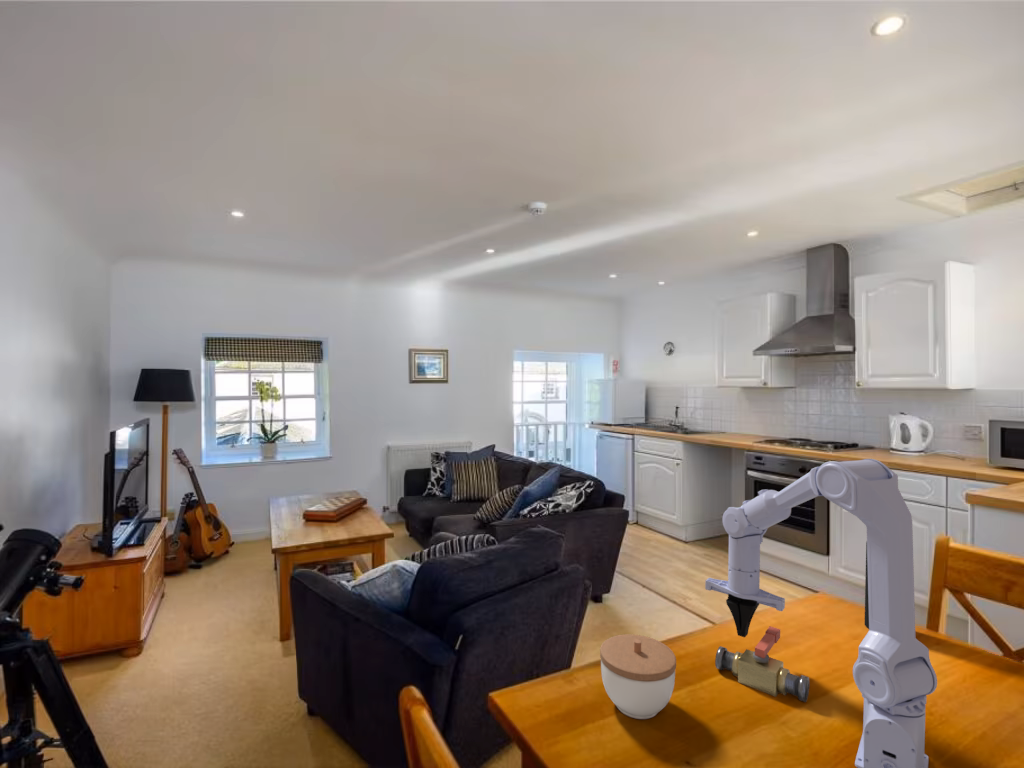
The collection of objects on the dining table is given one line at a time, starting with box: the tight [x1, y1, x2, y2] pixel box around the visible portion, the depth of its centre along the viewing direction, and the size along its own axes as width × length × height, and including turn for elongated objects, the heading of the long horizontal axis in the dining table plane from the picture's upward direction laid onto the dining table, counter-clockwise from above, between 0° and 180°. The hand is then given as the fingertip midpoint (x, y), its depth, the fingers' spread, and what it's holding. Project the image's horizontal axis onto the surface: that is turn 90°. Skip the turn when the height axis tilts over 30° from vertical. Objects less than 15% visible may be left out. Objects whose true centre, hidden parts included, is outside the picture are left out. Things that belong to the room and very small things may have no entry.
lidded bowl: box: [599, 633, 677, 720], centre depth 86 cm, size 13×13×11 cm
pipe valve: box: [714, 645, 810, 703], centre depth 93 cm, size 15×5×4 cm, turn 49°
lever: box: [753, 626, 781, 663], centre depth 96 cm, size 11×3×2 cm, turn 139°
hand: (742, 634), depth 101 cm, fingers closed
